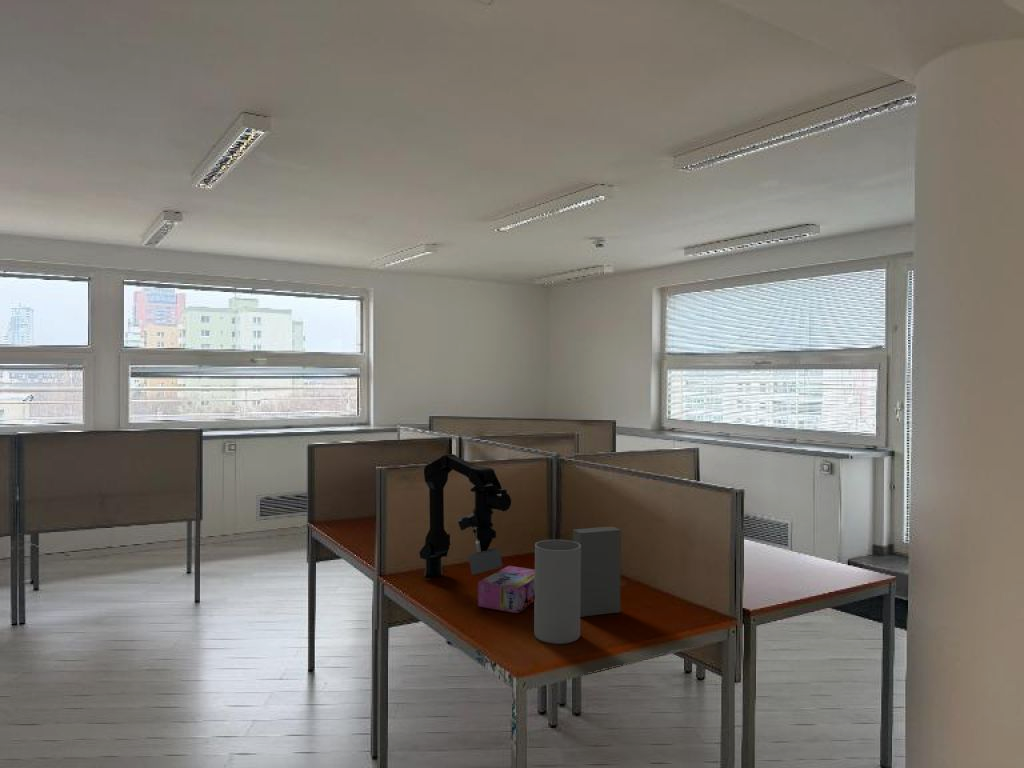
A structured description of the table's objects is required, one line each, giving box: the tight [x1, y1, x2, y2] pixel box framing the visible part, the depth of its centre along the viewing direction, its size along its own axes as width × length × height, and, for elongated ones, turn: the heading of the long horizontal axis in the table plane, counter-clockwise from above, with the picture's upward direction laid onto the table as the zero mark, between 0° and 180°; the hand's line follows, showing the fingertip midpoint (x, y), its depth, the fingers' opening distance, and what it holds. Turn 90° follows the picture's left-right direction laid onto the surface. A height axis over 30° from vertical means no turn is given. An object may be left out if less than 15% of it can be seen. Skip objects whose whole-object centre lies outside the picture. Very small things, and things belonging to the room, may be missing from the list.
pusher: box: [467, 539, 504, 576], centre depth 231 cm, size 10×10×7 cm
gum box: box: [477, 565, 535, 614], centre depth 226 cm, size 24×8×14 cm
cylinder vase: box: [533, 539, 581, 645], centre depth 194 cm, size 12×12×25 cm
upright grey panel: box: [572, 526, 622, 618], centre depth 215 cm, size 14×6×25 cm, turn 111°
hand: (482, 553), depth 235 cm, fingers closed on pusher, 3 cm apart
